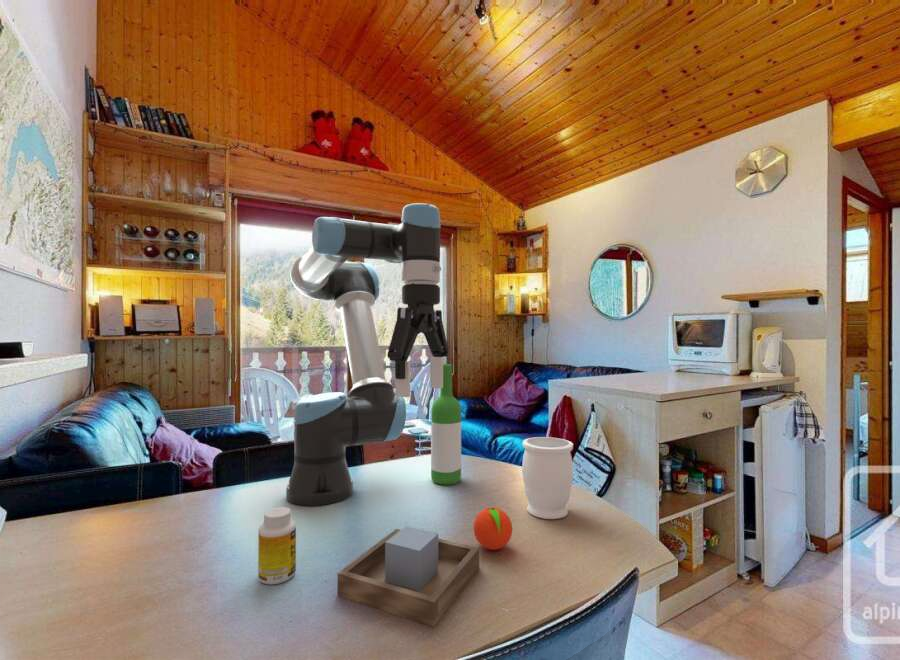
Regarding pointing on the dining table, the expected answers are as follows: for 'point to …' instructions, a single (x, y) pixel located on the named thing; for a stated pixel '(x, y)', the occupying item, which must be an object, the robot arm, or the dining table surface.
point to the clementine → (492, 528)
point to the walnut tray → (426, 606)
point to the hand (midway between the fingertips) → (420, 392)
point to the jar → (547, 476)
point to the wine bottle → (446, 434)
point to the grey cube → (411, 558)
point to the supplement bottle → (277, 546)
